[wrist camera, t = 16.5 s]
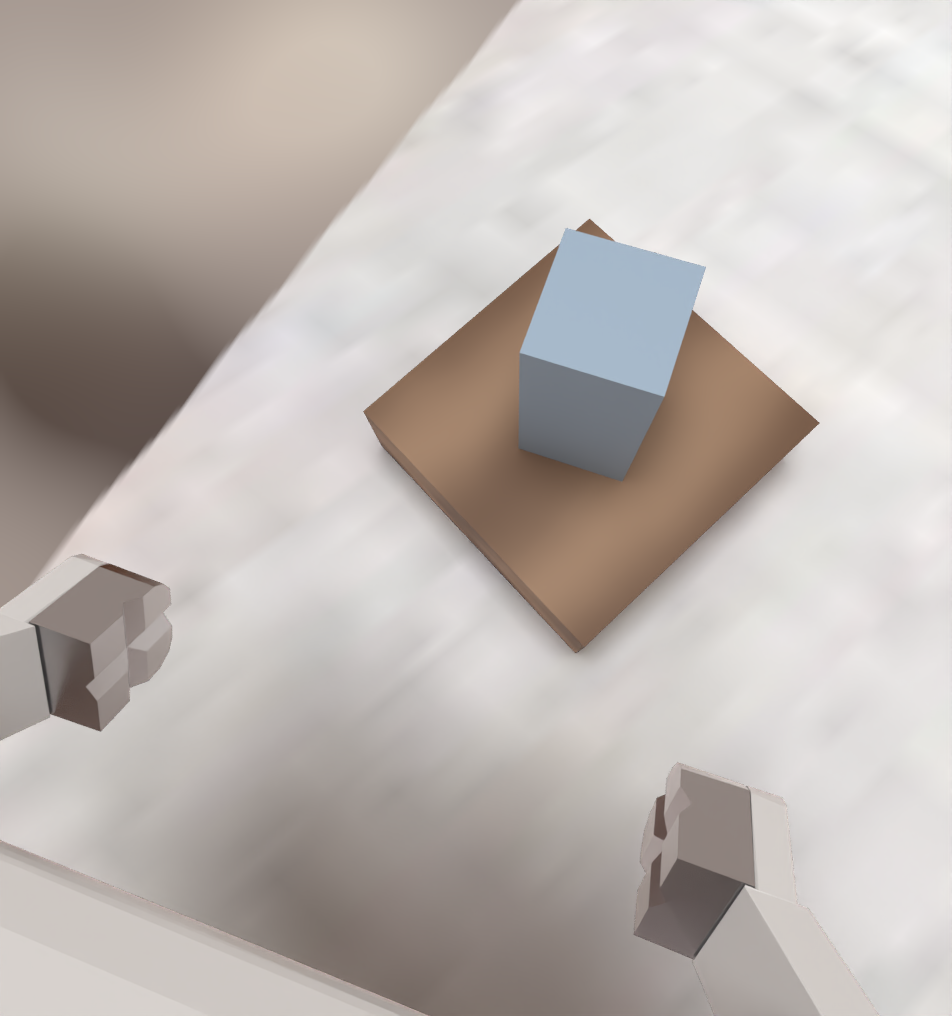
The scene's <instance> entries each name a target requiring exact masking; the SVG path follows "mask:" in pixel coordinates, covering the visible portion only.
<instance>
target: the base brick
mask: <svg viewBox="0 0 952 1016" xmlns="http://www.w3.org/2000/svg"><path fill="white" fill-rule="evenodd" d="M576 231H579V232H582V233H586V234H589V235H593V236H596V237H600V238H604V239H607V240H611V241H614V240H613V239H612V238H611V237H610V236H608V235H607V234H606V233H605V232H604V231H603V230H602V229H601V228H599V227H598V226H597V225H596V224H595V223H594V222H593V221H592V220H590V219H589V220H587V221H586V222H585V223H584V224H583V225H582V226H580V227H579V228H578V229H577V230H576ZM614 242H615V241H614ZM559 245H560V244H559ZM559 245H558V246H557V247H556V248H555V249H553V250H552V251H551V252H550V253H549V254H548V255H546V256H545V257H544V258H543V259H542V260H541V261H539V262H538V263H537V264H536V265H535V266H533V267H532V268H531V269H530V270H529V271H528V272H526V273H525V274H524V275H523V276H522V277H521V278H519V279H518V280H517V281H516V282H515V283H514V284H512V285H511V286H510V287H509V288H508V289H506V290H505V291H504V292H503V293H502V294H501V295H499V296H498V297H497V298H496V299H495V300H494V301H492V302H491V303H490V304H489V305H488V306H487V307H485V308H484V309H483V310H482V311H481V312H479V313H478V314H477V315H476V316H475V317H474V318H472V319H471V320H470V321H469V322H468V323H467V324H465V325H464V326H463V327H462V328H461V329H459V330H458V331H457V332H456V333H455V334H454V335H452V336H451V337H450V338H449V339H448V340H447V341H445V342H444V343H443V344H442V345H441V346H440V347H438V348H437V349H436V350H435V351H434V352H432V353H431V354H430V355H429V356H428V357H427V358H425V359H424V360H423V361H422V362H421V363H420V364H418V365H417V366H416V367H415V368H414V369H413V370H411V371H410V372H409V373H408V374H407V375H405V376H404V377H403V378H402V379H401V380H400V381H398V382H397V383H396V384H395V385H394V386H393V387H391V388H390V389H389V390H388V391H387V392H386V393H384V394H383V395H382V396H381V397H380V398H378V399H377V400H376V401H375V402H374V403H373V404H371V405H370V406H369V407H368V408H367V409H366V410H364V411H363V412H364V414H365V415H366V417H367V419H368V421H369V423H370V425H371V427H372V428H373V430H374V432H375V434H376V436H377V438H378V440H379V442H380V443H381V445H382V446H383V447H384V449H385V450H386V451H387V452H388V453H389V454H390V455H391V456H392V457H393V458H394V459H395V460H396V461H397V462H398V464H399V465H400V466H401V467H402V468H403V469H404V470H405V471H406V472H407V473H408V474H409V475H410V476H411V477H412V479H413V480H414V481H415V482H416V483H417V484H418V485H419V486H420V487H421V488H422V489H423V490H424V491H425V492H426V494H427V495H428V496H429V497H430V498H431V499H432V500H433V501H434V502H435V503H436V504H437V505H438V506H439V507H440V509H441V510H442V511H443V512H444V513H445V514H446V515H447V516H448V517H449V518H450V519H451V520H452V521H453V522H454V524H455V525H456V526H457V527H458V528H459V529H460V530H461V531H462V532H463V533H464V534H465V535H466V536H467V537H468V539H469V540H470V541H471V542H472V543H473V544H474V545H475V546H476V547H477V548H478V549H479V550H480V551H481V552H482V554H483V555H484V556H485V557H486V558H487V559H488V560H489V561H490V562H491V563H492V564H493V565H494V566H495V567H496V569H497V570H498V571H499V572H500V573H501V574H502V575H503V576H504V577H505V578H506V579H507V580H508V581H509V582H510V584H511V585H512V586H513V587H514V588H515V589H516V590H517V591H518V592H519V593H520V594H521V595H522V596H523V597H524V599H525V600H526V601H527V602H528V603H529V604H530V605H531V606H532V607H533V608H534V609H535V610H536V611H537V612H538V614H539V615H540V616H541V617H542V618H543V619H544V620H545V621H546V622H547V623H548V624H549V625H550V626H551V627H552V629H553V630H554V631H555V632H556V633H557V634H558V635H559V636H560V637H561V638H562V639H563V640H564V641H565V642H566V644H567V645H568V646H569V647H570V648H571V649H572V650H573V651H574V652H575V653H577V652H578V651H579V650H581V649H582V648H584V647H585V646H586V645H587V644H588V643H589V642H590V641H591V640H592V639H593V638H594V637H595V636H596V635H597V634H598V633H600V632H601V631H602V630H603V629H604V628H605V627H606V626H607V625H608V624H609V623H610V622H611V621H612V620H613V619H614V618H615V617H616V616H617V615H618V614H619V613H621V612H622V611H623V610H624V609H625V608H626V607H627V606H628V605H629V604H630V603H631V602H632V601H633V600H634V599H635V598H636V597H637V596H638V595H639V594H641V593H642V592H643V591H644V590H645V589H646V588H647V587H648V586H649V585H650V584H651V583H652V582H653V581H654V580H655V579H656V578H657V577H658V576H659V575H660V574H662V573H663V572H664V571H665V570H666V569H667V568H668V567H669V566H670V565H671V564H672V563H673V562H674V561H675V560H676V559H677V558H678V557H679V556H680V555H681V554H683V553H684V552H685V551H686V550H687V549H688V548H689V547H690V546H691V545H692V544H693V543H694V542H695V541H696V540H697V539H698V538H699V537H700V536H701V535H702V534H704V533H705V532H706V531H707V530H708V529H709V528H710V527H711V526H712V525H713V524H714V523H715V522H716V521H717V520H718V519H719V518H720V517H721V516H722V515H724V514H725V513H726V512H727V511H728V510H729V509H730V508H731V507H732V506H733V505H734V504H735V503H736V502H737V501H738V500H739V499H740V498H741V497H742V496H743V495H745V494H746V493H747V492H748V491H749V490H750V489H751V488H752V487H753V486H754V485H755V484H756V483H757V482H758V481H759V480H760V479H761V478H762V477H763V476H764V475H766V474H767V473H768V472H769V471H770V470H771V469H772V468H773V467H774V466H775V465H776V464H777V463H778V462H779V461H780V460H781V459H782V458H783V457H784V456H786V455H787V454H788V453H789V452H790V451H791V450H792V449H793V448H794V447H795V446H796V445H797V444H798V443H799V442H800V441H801V440H802V439H803V438H804V437H805V436H807V435H808V434H809V433H810V432H811V431H812V430H813V429H814V428H815V427H816V426H817V425H818V424H819V422H818V421H817V420H816V419H814V418H813V417H812V416H811V415H810V414H809V413H808V412H807V411H805V410H804V409H803V408H802V407H801V406H800V405H799V404H798V403H796V402H795V401H794V400H793V399H792V398H791V397H790V396H789V395H787V394H786V393H785V392H784V391H783V390H782V389H781V388H780V387H778V386H777V385H776V384H775V383H774V382H773V381H772V380H771V379H769V378H768V377H767V376H766V375H765V374H764V373H763V372H762V371H760V370H759V369H758V368H757V367H756V366H755V365H754V364H753V363H751V362H750V361H749V360H748V359H747V358H746V357H745V356H744V355H742V354H741V353H740V352H739V351H738V350H737V349H736V348H735V347H733V346H732V345H731V344H730V343H729V342H728V341H727V340H726V339H724V338H723V337H722V336H721V335H720V334H719V333H718V332H717V331H715V330H714V329H713V328H712V327H711V326H710V325H709V324H708V323H706V322H705V321H704V320H703V319H702V318H701V317H700V316H699V315H697V314H696V313H695V312H694V311H693V310H692V312H691V315H690V318H689V321H688V325H687V328H686V331H685V334H684V337H683V340H682V343H681V346H680V350H679V353H678V356H677V359H676V362H675V365H674V368H673V371H672V375H671V378H670V381H669V384H668V387H667V390H666V393H665V396H664V399H663V401H662V403H661V405H660V407H659V409H658V411H657V413H656V415H655V417H654V419H653V421H652V423H651V425H650V427H649V429H648V431H647V433H646V435H645V437H644V439H643V441H642V443H641V445H640V447H639V449H638V451H637V453H636V455H635V457H634V459H633V461H632V463H631V465H630V467H629V469H628V471H627V473H626V475H625V477H624V479H623V481H618V480H615V479H612V478H609V477H606V476H603V475H600V474H597V473H594V472H591V471H587V470H584V469H581V468H578V467H575V466H572V465H569V464H566V463H563V462H560V461H556V460H553V459H550V458H547V457H544V456H541V455H538V454H535V453H532V452H528V451H525V450H522V449H519V354H520V350H521V347H522V345H523V342H524V339H525V337H526V334H527V331H528V329H529V326H530V323H531V320H532V318H533V315H534V312H535V310H536V307H537V304H538V302H539V299H540V296H541V294H542V291H543V288H544V286H545V283H546V280H547V278H548V275H549V272H550V269H551V267H552V264H553V261H554V259H555V256H556V253H557V251H558V248H559Z"/></svg>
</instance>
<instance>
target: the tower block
mask: <svg viewBox="0 0 952 1016" xmlns="http://www.w3.org/2000/svg"><path fill="white" fill-rule="evenodd" d="M705 268H706V267H704V266H700V265H697V264H693V263H689V262H686V261H682V260H679V259H675V258H672V257H668V256H664V255H661V254H657V253H654V252H650V251H646V250H643V249H639V248H636V247H632V246H629V245H625V244H621V243H618V242H614V241H611V240H607V239H604V238H600V237H596V236H593V235H589V234H586V233H582V232H579V231H575V230H571V229H568V228H566V229H565V232H564V235H563V237H562V240H561V243H560V245H559V248H558V251H557V253H556V256H555V259H554V261H553V264H552V267H551V269H550V272H549V275H548V278H547V280H546V283H545V286H544V288H543V291H542V294H541V296H540V299H539V302H538V304H537V307H536V310H535V312H534V315H533V318H532V320H531V323H530V326H529V329H528V331H527V334H526V337H525V339H524V342H523V345H522V347H521V350H520V354H519V449H522V450H525V451H528V452H532V453H535V454H538V455H541V456H544V457H547V458H550V459H553V460H556V461H560V462H563V463H566V464H569V465H572V466H575V467H578V468H581V469H584V470H587V471H591V472H594V473H597V474H600V475H603V476H606V477H609V478H612V479H615V480H618V481H623V479H624V477H625V475H626V473H627V471H628V469H629V467H630V465H631V463H632V461H633V459H634V457H635V455H636V453H637V451H638V449H639V447H640V445H641V443H642V441H643V439H644V437H645V435H646V433H647V431H648V429H649V427H650V425H651V423H652V421H653V419H654V417H655V415H656V413H657V411H658V409H659V407H660V405H661V403H662V401H663V399H664V396H665V393H666V390H667V387H668V384H669V381H670V378H671V375H672V371H673V368H674V365H675V362H676V359H677V356H678V353H679V350H680V346H681V343H682V340H683V337H684V334H685V331H686V328H687V325H688V321H689V318H690V315H691V312H692V309H693V306H694V303H695V300H696V297H697V293H698V290H699V287H700V284H701V281H702V278H703V275H704V272H705Z"/></svg>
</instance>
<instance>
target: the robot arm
mask: <svg viewBox="0 0 952 1016" xmlns="http://www.w3.org/2000/svg"><path fill="white" fill-rule="evenodd" d="M170 605H171V595H170V588H169V587H167V586H166V585H164V584H162V583H160V582H157V581H154V580H152V579H149V578H146V577H144V576H141V575H139V574H136V573H133V572H131V571H128V570H125V569H123V568H120V567H117V566H115V565H112V564H108V563H105V562H103V561H100V560H97V559H95V558H92V557H89V556H87V555H84V554H79V555H74V556H71V557H69V558H68V559H66V560H65V561H64V562H62V563H61V564H60V565H58V566H57V567H56V568H54V569H53V570H52V571H50V572H49V573H47V574H46V575H45V576H43V577H42V578H41V579H39V580H38V581H37V582H35V583H34V584H32V585H31V586H30V587H28V588H27V589H26V590H24V591H23V592H22V593H20V594H19V595H17V596H16V597H15V598H13V599H12V600H11V601H9V602H8V603H7V604H5V605H4V606H2V607H1V608H0V740H2V739H4V738H7V737H9V736H11V735H13V734H15V733H17V732H20V731H22V730H24V729H26V728H28V727H30V726H32V725H35V724H37V723H39V722H41V721H43V720H45V719H48V718H50V714H51V715H54V716H57V717H60V718H63V719H66V720H69V721H72V722H75V723H77V724H80V725H83V726H86V727H89V728H92V729H95V730H98V731H100V732H101V731H102V730H103V729H104V728H105V727H106V726H107V724H108V723H109V722H110V721H111V720H112V719H113V718H114V717H115V716H116V715H117V714H118V713H119V712H120V711H121V710H122V709H123V708H124V707H125V705H126V704H127V703H128V702H129V701H130V688H131V687H133V686H136V685H139V684H142V683H144V682H147V681H149V680H150V679H151V678H152V677H153V675H154V674H155V673H156V672H157V671H158V670H159V669H160V667H161V666H162V664H163V662H164V660H165V658H166V656H167V654H168V652H169V650H170V645H171V641H172V625H171V623H170V622H169V620H168V619H167V617H166V616H165V614H164V613H163V612H164V611H165V610H166V609H167V608H168V607H169V606H170ZM640 863H641V865H642V867H643V869H644V871H645V873H646V874H645V876H644V878H643V880H642V882H641V884H640V886H639V888H638V890H637V899H636V911H635V923H634V935H636V936H638V937H641V938H643V939H645V940H648V941H650V942H653V943H655V944H658V945H660V946H662V947H665V948H667V949H670V950H672V951H675V952H677V953H680V954H682V955H684V956H687V957H689V958H692V959H694V960H693V962H692V963H693V965H694V967H695V970H696V972H697V975H698V977H699V979H700V982H701V984H702V987H703V989H704V991H705V994H706V996H707V999H708V1001H709V1004H710V1006H711V1008H712V1011H713V1013H714V1016H880V1015H879V1014H878V1012H877V1011H876V1009H875V1008H874V1006H873V1005H872V1003H871V1002H870V1000H869V999H868V997H867V996H866V994H865V993H864V991H863V990H862V988H861V987H860V985H859V984H858V982H857V981H856V979H855V978H854V976H853V975H852V973H851V972H850V970H849V969H848V967H847V966H846V964H845V963H844V961H843V960H842V958H841V957H840V955H839V954H838V952H837V951H836V949H835V947H834V946H833V944H832V943H831V941H830V940H829V938H828V937H827V935H826V934H825V932H824V931H823V929H822V928H821V926H820V925H819V923H818V922H817V920H816V919H815V917H814V916H813V914H812V913H811V911H810V910H809V909H808V908H806V907H803V906H801V905H798V903H797V894H796V885H795V876H794V868H793V859H792V850H791V841H790V832H789V823H788V815H787V806H786V803H785V801H784V800H783V798H782V797H779V796H776V795H773V794H770V793H767V792H764V791H761V790H758V789H755V788H752V787H749V786H745V785H744V784H741V783H738V782H735V781H732V780H729V779H726V778H723V777H720V776H717V775H714V774H711V773H708V772H705V771H702V770H699V769H696V768H693V767H690V766H687V765H684V764H681V763H678V762H677V763H676V764H675V765H674V766H673V767H672V769H671V771H670V773H669V775H668V777H667V780H666V794H665V795H663V796H660V797H658V798H656V800H655V803H654V805H653V807H652V809H651V811H650V813H649V817H648V820H647V823H646V826H645V830H644V834H643V840H642V845H641V855H640ZM0 1016H429V1015H426V1014H424V1013H421V1012H419V1011H417V1010H414V1009H412V1008H409V1007H407V1006H404V1005H402V1004H400V1003H397V1002H395V1001H392V1000H390V999H387V998H385V997H382V996H380V995H378V994H375V993H373V992H370V991H368V990H365V989H363V988H361V987H358V986H356V985H353V984H351V983H348V982H346V981H343V980H341V979H339V978H336V977H334V976H331V975H329V974H326V973H324V972H322V971H319V970H317V969H314V968H312V967H309V966H307V965H304V964H302V963H300V962H297V961H295V960H292V959H290V958H287V957H285V956H282V955H280V954H278V953H275V952H273V951H270V950H268V949H265V948H263V947H260V946H258V945H256V944H253V943H251V942H248V941H246V940H243V939H241V938H238V937H236V936H233V935H231V934H229V933H226V932H224V931H221V930H219V929H216V928H214V927H211V926H209V925H207V924H204V923H202V922H199V921H197V920H194V919H192V918H189V917H187V916H185V915H182V914H180V913H177V912H175V911H172V910H170V909H167V908H165V907H162V906H160V905H158V904H155V903H153V902H150V901H148V900H145V899H143V898H140V897H138V896H136V895H133V894H131V893H128V892H126V891H123V890H121V889H118V888H116V887H114V886H111V885H109V884H106V883H104V882H101V881H99V880H96V879H94V878H92V877H89V876H87V875H84V874H82V873H79V872H77V871H75V870H72V869H70V868H67V867H65V866H62V865H60V864H57V863H55V862H53V861H50V860H48V859H45V858H43V857H40V856H38V855H35V854H33V853H31V852H28V851H26V850H23V849H21V848H18V847H16V846H13V845H11V844H9V843H6V842H4V841H1V840H0Z"/></svg>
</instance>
